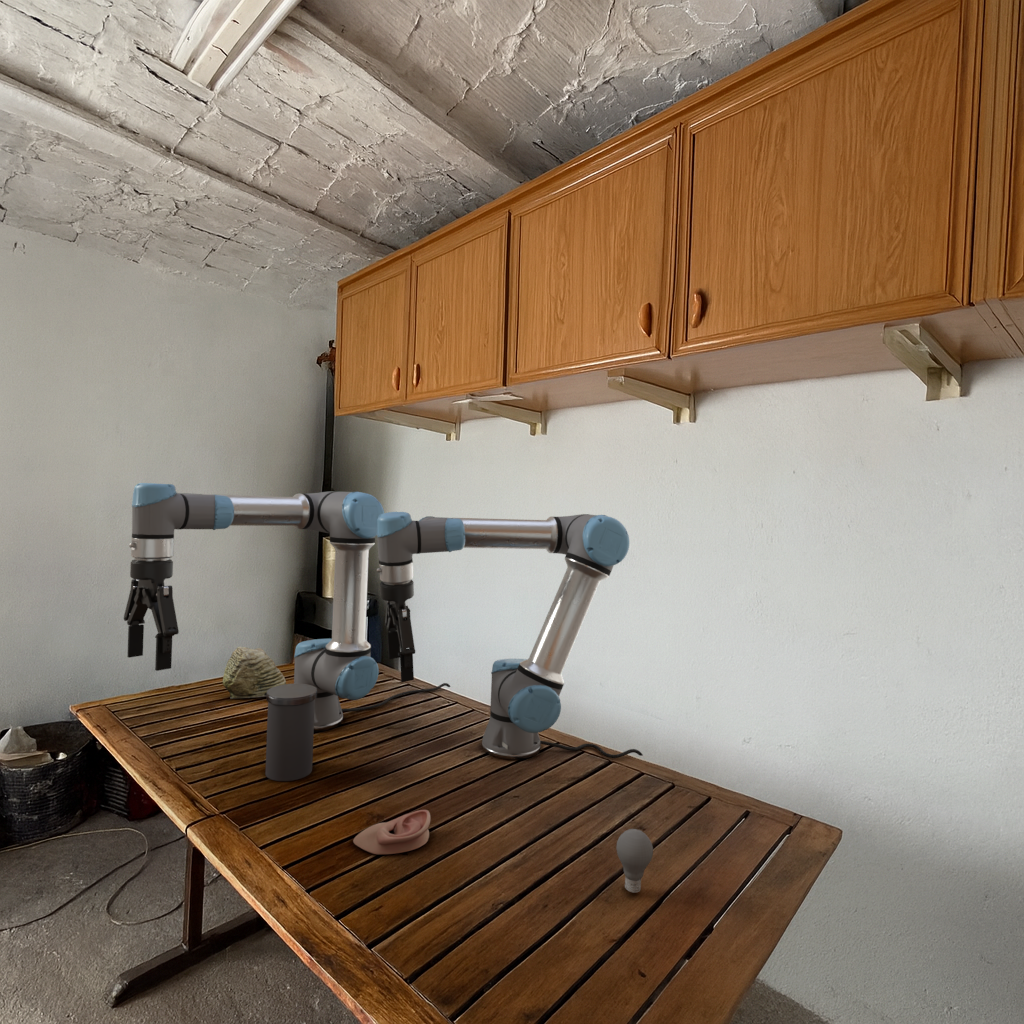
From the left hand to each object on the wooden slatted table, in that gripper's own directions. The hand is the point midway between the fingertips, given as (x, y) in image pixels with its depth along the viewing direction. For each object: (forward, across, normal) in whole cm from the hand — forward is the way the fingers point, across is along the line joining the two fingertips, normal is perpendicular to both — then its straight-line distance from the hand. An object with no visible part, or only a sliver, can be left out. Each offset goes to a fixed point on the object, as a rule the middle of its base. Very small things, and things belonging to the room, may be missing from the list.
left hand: (148, 662), depth 129 cm
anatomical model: (+28, +49, +24) cm, 61 cm away
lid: (+10, +9, +27) cm, 30 cm away
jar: (+28, +9, +27) cm, 40 cm away
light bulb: (+28, +90, +41) cm, 103 cm away
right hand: (+4, +27, +44) cm, 52 cm away
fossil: (+28, -47, +50) cm, 74 cm away
